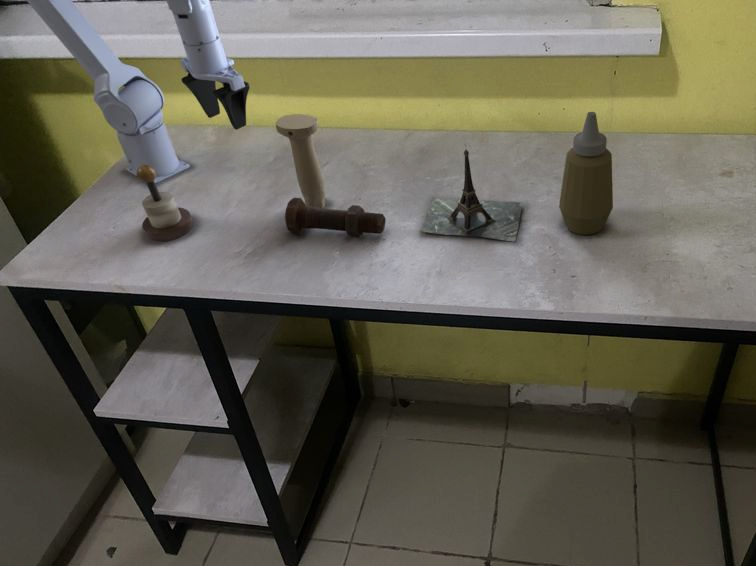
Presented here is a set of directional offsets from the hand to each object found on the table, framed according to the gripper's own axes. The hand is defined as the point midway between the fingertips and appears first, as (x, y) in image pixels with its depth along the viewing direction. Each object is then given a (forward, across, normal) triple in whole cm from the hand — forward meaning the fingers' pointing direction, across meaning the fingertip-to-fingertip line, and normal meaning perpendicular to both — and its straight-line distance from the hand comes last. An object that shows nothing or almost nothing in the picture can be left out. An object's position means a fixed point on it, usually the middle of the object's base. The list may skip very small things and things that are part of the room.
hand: (227, 121), depth 120 cm
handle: (+11, -19, -1) cm, 22 cm away
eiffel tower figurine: (+11, -43, -13) cm, 46 cm away
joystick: (+4, -4, +14) cm, 15 cm away
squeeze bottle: (+11, -58, -22) cm, 63 cm away
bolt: (+11, -28, +2) cm, 30 cm away
